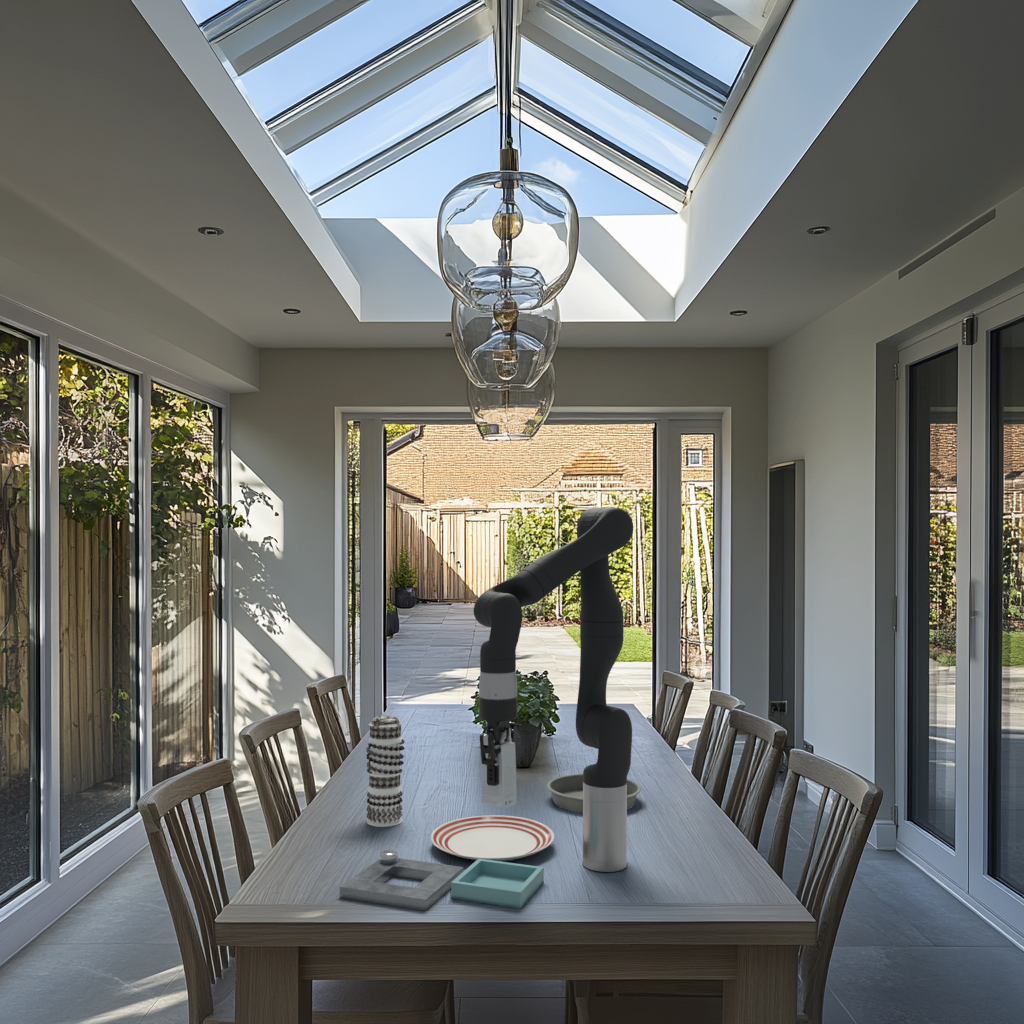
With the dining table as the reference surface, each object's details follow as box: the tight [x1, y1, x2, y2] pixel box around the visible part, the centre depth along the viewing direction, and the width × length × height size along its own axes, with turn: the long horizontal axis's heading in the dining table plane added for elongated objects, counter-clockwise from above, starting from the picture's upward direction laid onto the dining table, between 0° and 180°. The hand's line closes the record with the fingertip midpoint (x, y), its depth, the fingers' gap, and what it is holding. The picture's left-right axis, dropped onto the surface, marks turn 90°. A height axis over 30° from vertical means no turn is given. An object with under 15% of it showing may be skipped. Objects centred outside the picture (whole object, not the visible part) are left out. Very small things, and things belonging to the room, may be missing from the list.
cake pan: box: [546, 773, 642, 813], centre depth 239 cm, size 25×25×4 cm
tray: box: [450, 859, 545, 910], centre depth 177 cm, size 14×14×3 cm
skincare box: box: [479, 741, 518, 809], centre depth 178 cm, size 6×4×12 cm
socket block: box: [339, 849, 465, 911], centre depth 179 cm, size 18×18×4 cm
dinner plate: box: [430, 814, 555, 862], centre depth 202 cm, size 27×27×3 cm
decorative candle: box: [366, 715, 406, 828], centre depth 221 cm, size 9×9×25 cm
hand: (498, 780), depth 178 cm, fingers closed on skincare box, 5 cm apart
